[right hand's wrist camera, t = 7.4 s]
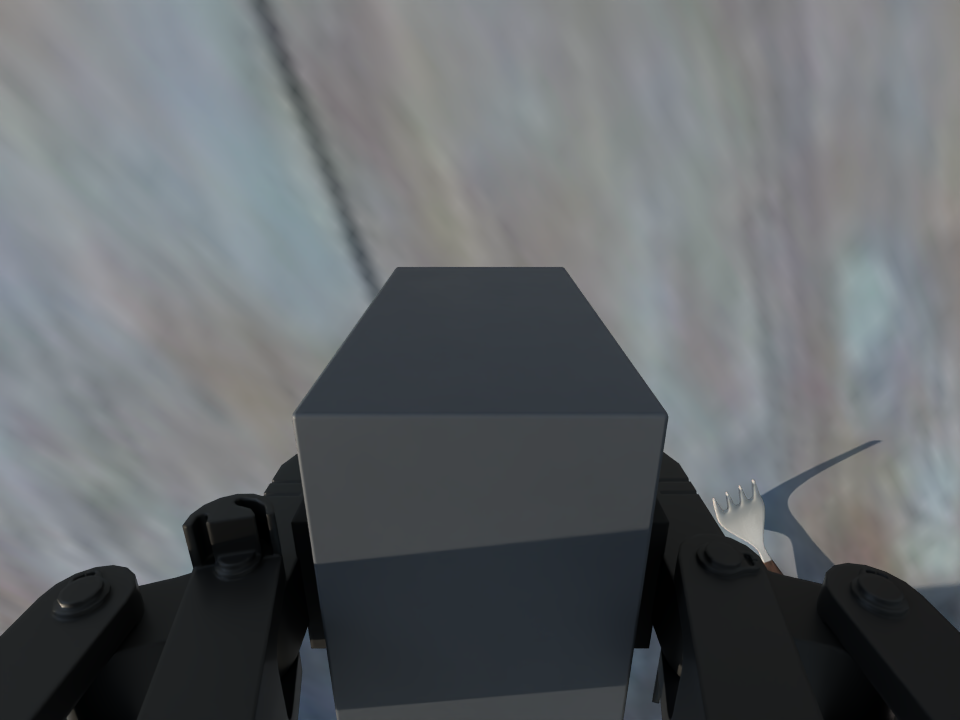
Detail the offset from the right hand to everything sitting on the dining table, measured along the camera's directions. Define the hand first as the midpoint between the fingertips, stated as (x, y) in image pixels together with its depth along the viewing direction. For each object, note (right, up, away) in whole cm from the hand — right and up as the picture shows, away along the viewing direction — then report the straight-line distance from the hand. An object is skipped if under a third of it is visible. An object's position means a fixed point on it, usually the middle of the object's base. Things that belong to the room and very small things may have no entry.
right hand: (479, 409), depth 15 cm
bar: (0, -8, +4) cm, 9 cm away
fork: (+17, -11, +16) cm, 26 cm away
